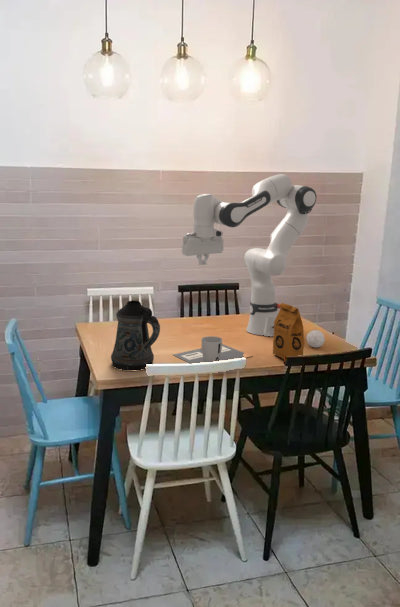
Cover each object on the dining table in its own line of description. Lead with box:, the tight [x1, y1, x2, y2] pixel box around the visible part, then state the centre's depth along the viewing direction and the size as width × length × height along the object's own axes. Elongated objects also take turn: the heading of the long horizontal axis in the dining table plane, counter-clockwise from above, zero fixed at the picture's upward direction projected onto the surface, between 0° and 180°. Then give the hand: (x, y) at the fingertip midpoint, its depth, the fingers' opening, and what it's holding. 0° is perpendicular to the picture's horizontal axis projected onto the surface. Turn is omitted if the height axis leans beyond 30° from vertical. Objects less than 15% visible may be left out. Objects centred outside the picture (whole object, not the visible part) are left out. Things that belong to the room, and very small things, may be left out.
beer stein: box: [110, 300, 161, 371], centre depth 208 cm, size 16×19×25 cm
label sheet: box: [172, 343, 245, 364], centre depth 222 cm, size 26×20×1 cm
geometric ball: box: [306, 329, 326, 349], centre depth 235 cm, size 8×8×8 cm
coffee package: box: [272, 302, 305, 360], centre depth 219 cm, size 10×12×22 cm
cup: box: [201, 335, 223, 362], centre depth 211 cm, size 8×8×10 cm
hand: (202, 264), depth 235 cm, fingers closed
